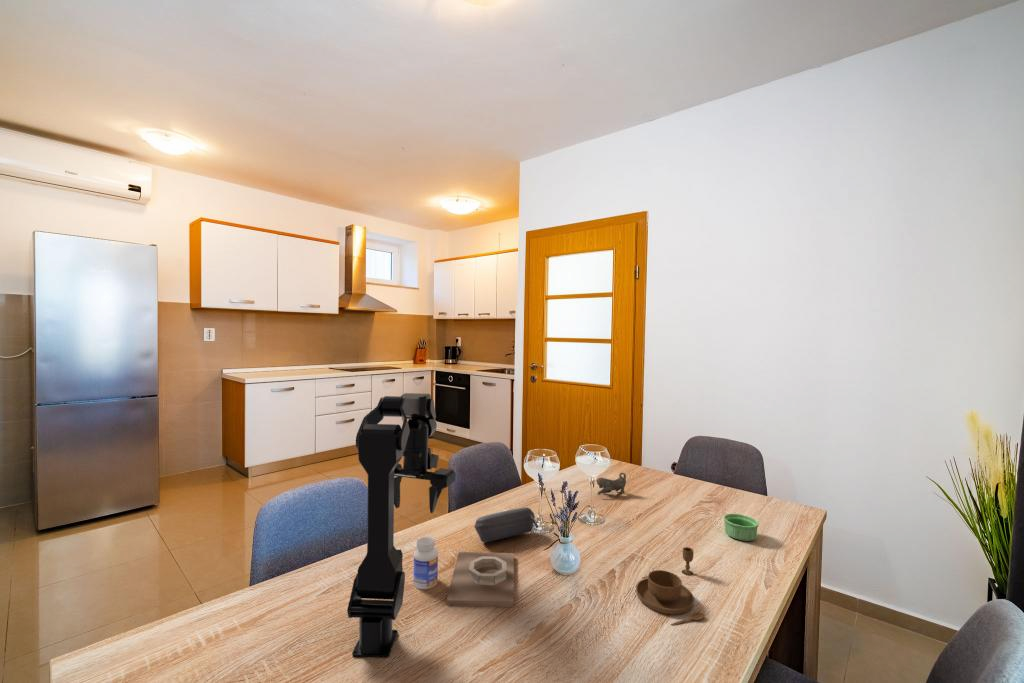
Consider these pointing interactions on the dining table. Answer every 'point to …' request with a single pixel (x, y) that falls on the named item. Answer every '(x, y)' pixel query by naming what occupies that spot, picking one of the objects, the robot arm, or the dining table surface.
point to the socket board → (483, 580)
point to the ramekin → (740, 527)
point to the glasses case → (505, 524)
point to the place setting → (668, 591)
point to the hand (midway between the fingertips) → (414, 510)
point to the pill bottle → (425, 564)
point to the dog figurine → (612, 484)
